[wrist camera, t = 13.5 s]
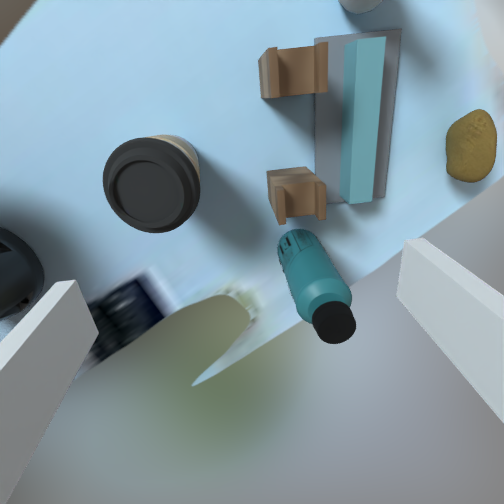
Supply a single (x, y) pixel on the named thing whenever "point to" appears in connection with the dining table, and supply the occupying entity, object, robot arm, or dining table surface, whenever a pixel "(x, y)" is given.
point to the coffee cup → (153, 182)
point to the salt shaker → (359, 5)
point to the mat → (331, 113)
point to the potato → (471, 147)
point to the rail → (360, 117)
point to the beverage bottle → (316, 286)
